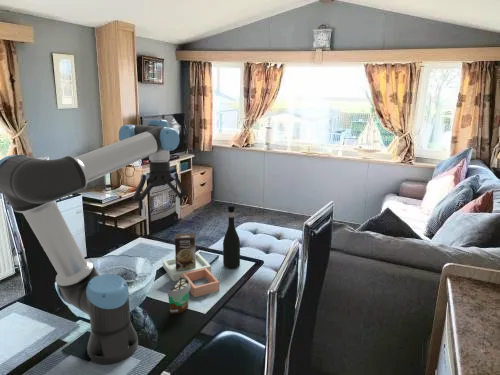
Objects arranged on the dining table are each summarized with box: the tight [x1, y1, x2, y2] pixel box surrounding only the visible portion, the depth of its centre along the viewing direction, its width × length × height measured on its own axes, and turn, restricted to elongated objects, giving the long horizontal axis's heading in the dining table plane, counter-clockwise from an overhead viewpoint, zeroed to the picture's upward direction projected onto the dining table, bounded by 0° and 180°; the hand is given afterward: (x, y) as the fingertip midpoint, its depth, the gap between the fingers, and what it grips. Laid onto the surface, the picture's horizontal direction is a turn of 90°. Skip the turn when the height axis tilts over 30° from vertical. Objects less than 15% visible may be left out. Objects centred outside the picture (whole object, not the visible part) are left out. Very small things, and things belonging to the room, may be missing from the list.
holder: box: [183, 268, 220, 298], centre depth 153 cm, size 11×14×4 cm
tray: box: [162, 252, 212, 282], centre depth 168 cm, size 18×16×3 cm
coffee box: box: [174, 232, 196, 271], centre depth 165 cm, size 9×6×16 cm
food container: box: [167, 276, 191, 315], centre depth 137 cm, size 12×6×10 cm, turn 168°
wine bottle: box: [222, 204, 241, 270], centre depth 168 cm, size 8×8×30 cm
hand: (161, 215), depth 140 cm, fingers open, 13 cm apart
